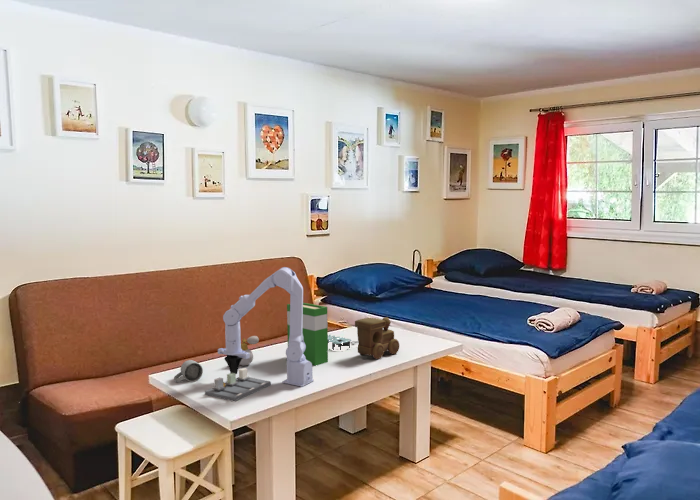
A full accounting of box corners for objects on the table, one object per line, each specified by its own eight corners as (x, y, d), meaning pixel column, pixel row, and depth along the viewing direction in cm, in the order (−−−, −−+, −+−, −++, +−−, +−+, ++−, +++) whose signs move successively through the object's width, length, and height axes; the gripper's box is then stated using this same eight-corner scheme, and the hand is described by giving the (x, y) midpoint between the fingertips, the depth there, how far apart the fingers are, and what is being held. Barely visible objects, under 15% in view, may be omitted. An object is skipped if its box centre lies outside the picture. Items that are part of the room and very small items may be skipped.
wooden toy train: (372, 362, 238) (371, 324, 236) (353, 356, 246) (352, 320, 244) (402, 352, 252) (402, 316, 250) (383, 348, 260) (383, 313, 258)
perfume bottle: (231, 365, 235) (231, 337, 234) (250, 360, 242) (249, 333, 241) (242, 368, 230) (241, 340, 229) (261, 363, 237) (260, 335, 236)
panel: (270, 384, 210) (270, 378, 210) (234, 401, 193) (234, 395, 193) (242, 378, 217) (242, 373, 217) (205, 394, 200) (204, 388, 200)
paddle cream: (249, 378, 212) (249, 368, 212) (244, 380, 210) (243, 371, 209) (242, 376, 214) (242, 367, 214) (236, 379, 212) (236, 369, 211)
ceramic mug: (197, 374, 223) (196, 356, 222) (203, 379, 216) (202, 361, 215) (171, 379, 217) (170, 361, 217) (177, 385, 211) (175, 366, 210)
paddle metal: (225, 388, 201) (225, 378, 201) (219, 391, 199) (219, 380, 198) (218, 386, 203) (218, 376, 203) (212, 389, 200) (211, 379, 200)
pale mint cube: (238, 383, 207) (237, 373, 207) (232, 385, 204) (231, 375, 204) (230, 381, 209) (230, 372, 208) (224, 384, 206) (224, 374, 206)
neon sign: (380, 333, 273) (337, 344, 252) (380, 341, 274) (337, 353, 253) (350, 326, 288) (307, 336, 267) (350, 334, 288) (307, 345, 268)
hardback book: (287, 357, 245) (286, 304, 243) (300, 354, 251) (299, 301, 248) (315, 365, 233) (314, 309, 231) (327, 362, 238) (327, 307, 236)
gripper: (254, 339, 213) (255, 374, 214) (226, 335, 220) (227, 368, 221) (242, 343, 207) (243, 379, 208) (213, 339, 214) (214, 373, 215)
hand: (234, 374), depth 214 cm, fingers closed
